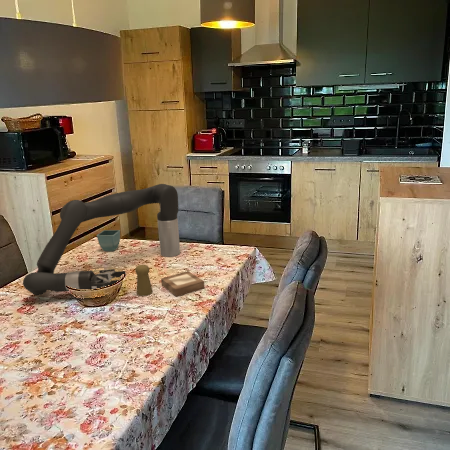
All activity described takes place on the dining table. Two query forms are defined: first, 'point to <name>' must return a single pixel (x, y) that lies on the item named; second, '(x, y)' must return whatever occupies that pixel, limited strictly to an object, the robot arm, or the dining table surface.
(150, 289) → the brown wooden pawn
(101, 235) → the flower pot
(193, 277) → the dock board
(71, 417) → the dining table surface
